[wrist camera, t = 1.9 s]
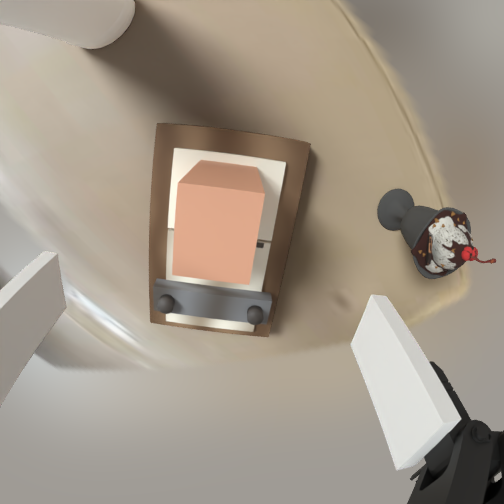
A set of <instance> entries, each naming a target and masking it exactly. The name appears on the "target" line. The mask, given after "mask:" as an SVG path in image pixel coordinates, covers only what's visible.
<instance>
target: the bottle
mask: <svg viewBox="0 0 504 504" xmlns="http://www.w3.org/2000/svg"><path fill="white" fill-rule="evenodd" d="M134 14H135V2H134V0H0V24H2V25H6V26H11V27H15V28H19V29H23V30H27V31H31V32H34V33H38V34H42V35H45V36H48V37H52V38H55V39H58V40H61V41H65V42H66V43H68V44H70V45H74V46H78V47H81V48H86V49H97V48H102V47H104V46H106V45H109V44H111V43H112V42H114V41H115V40H116V39H117V38H119V37H120V36H121V35H122V34H123V33H124V32H125V30H126V29H127V28H128V27H129V25H130V24H131V21H132V19H133V16H134Z"/></svg>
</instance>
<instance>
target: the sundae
mask: <svg viewBox="0 0 504 504" xmlns="http://www.w3.org/2000/svg"><path fill="white" fill-rule="evenodd" d="M378 219H379V221H380V223H381V225H382V226H383V227H385V228H386V229H388V230H399V229H401V233H402V235H403V237H404V239H405V241H406V242H407V244H408V245H409V247H410V248H411V249H412V250H411V253H412V254H413V259H414V262H415V265H416V267H417V269H418V271H419V272H420V273H421V274H422V275H423V276H424V277H426V278H429V279H436V278H440V277H443V276H446V275H448V274H450V273H452V272H454V271H455V270H457V269H458V268H459V267H461V266H462V265H463V264H464V263H465V262H466V261H468V260H470V261H473V260H476V261H478V262H481V263H488V262H490V263H495V262H496V259H492V260H488V261H480V260H479V259H478V258H477V255H478V251H477V249H476V248H475V247H473V243H472V241H473V239H472V237H471V235H470V234H471V227H470V222H469V220H468V218H467V216H466V214H465V213H462V212H461V211H459V210H457V209H454V208H448V207H446V208H442V209H440V210H439V211H438V210H435V209H432V208H429V207H425V206H414V202H413V199H412V197H411V195H410V194H409V193H408V192H407V191H405V190H402V189H394V190H391V191H389V192H388V193H386V194H385V195H384V196H383V198H382V199H381V200H380V203H379V206H378Z"/></svg>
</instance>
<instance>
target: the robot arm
mask: <svg viewBox="0 0 504 504" xmlns="http://www.w3.org/2000/svg"><path fill="white" fill-rule="evenodd" d="M66 308H67V306H66V301H65V296H64V291H63V285H62V280H61V273H60V267H59V260H58V253H53V252H47V251H44V252H42V253H41V254H40V255H39V256H38V257H37V258H35V259H34V260H33V261H32V262H31V263H30V264H28V265H27V266H26V267H25V268H24V269H23V270H22V271H20V272H19V273H18V274H17V275H16V276H15V277H14V278H13V279H12V280H11V281H10V282H8V283H7V284H6V285H5V286H4V287H3V288H2V289H1V290H0V406H1V405H2V403H3V401H4V400H5V398H6V396H7V394H8V393H9V391H10V389H11V388H12V386H13V385H14V383H15V381H16V380H17V378H18V377H19V375H20V373H21V372H22V370H23V369H24V367H25V366H26V364H27V362H28V361H29V360H30V358H31V357H32V355H33V354H34V352H35V351H36V349H37V348H38V346H39V345H40V343H41V342H42V340H43V339H44V338H45V336H46V335H47V333H48V332H49V331H50V329H51V328H52V326H53V325H54V324H55V322H56V321H57V320H58V318H59V317H60V316H61V314H62V313H63V312H64V310H65V309H66ZM350 345H351V348H352V350H353V353H354V355H355V358H356V360H357V363H358V365H359V368H360V370H361V373H362V375H363V378H364V381H365V383H366V386H367V389H368V391H369V394H370V396H371V399H372V402H373V405H374V407H375V410H376V413H377V415H378V418H379V421H380V424H381V427H382V429H383V432H384V435H385V438H386V441H387V444H388V447H389V449H390V453H391V456H392V459H393V462H394V465H395V468H396V470H400V469H404V468H408V467H412V466H415V465H416V464H417V463H418V462H419V461H420V460H421V459H423V458H425V461H426V464H425V465H424V466H423V467H422V468H421V469H419V470H418V471H417V472H416V473H415V474H413V475H412V477H411V478H410V480H413V479H414V478H416V477H417V476H418V475H419V474H420V475H419V477H418V480H417V481H416V485H415V487H414V489H413V492H412V494H411V496H410V499H409V501H408V503H407V504H504V431H503V432H498V431H491V430H490V428H489V427H488V426H487V425H486V424H485V423H483V422H482V421H478V420H471V419H470V417H469V416H468V413H467V412H466V410H465V408H464V406H463V405H462V403H461V401H460V399H459V398H458V396H457V394H456V392H455V391H453V387H452V386H451V384H450V383H448V379H447V377H446V376H445V374H444V372H443V371H442V370H441V369H440V368H439V367H438V366H437V365H436V364H435V363H434V362H429V361H428V359H427V358H426V356H425V355H424V353H423V351H422V350H421V348H420V346H419V345H418V343H417V342H416V340H415V339H414V337H413V335H412V334H411V332H410V331H409V329H408V328H407V326H406V325H405V323H404V322H403V320H402V319H401V317H400V316H399V314H398V313H397V311H396V310H395V308H394V307H393V305H392V304H391V302H390V301H389V299H388V298H387V296H381V295H371V296H370V299H369V301H368V304H367V306H366V309H365V311H364V314H363V316H362V319H361V321H360V324H359V326H358V328H357V331H356V333H355V335H354V338H353V340H352V342H351V344H350ZM499 472H501V473H502V478H501V479H500V480H498V481H497V482H495V481H494V476H496V475H497V474H498V473H499Z"/></svg>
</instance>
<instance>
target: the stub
mask: <svg viewBox="0 0 504 504" xmlns="http://www.w3.org/2000/svg"><path fill="white" fill-rule="evenodd" d="M285 166H286V162H282V161H276V160H270V159H264V158H258V157H251V156H244V155H236V154H229V153H221V152H213V151H204V150H194V149H184V148H174V154H173V164H172V175H171V186H170V199H169V214H168V228H174V242H173V264H172V275H175V276H182V277H190V278H197V279H205V280H213V281H221V282H229V283H237V284H246V285H249V283H250V278H251V272H252V266H253V261H254V255H255V249H256V243H257V239H260V240H267V241H272V236H273V230H274V225H275V220H276V215H277V209H278V204H279V199H280V194H281V188H282V183H283V177H284V172H285Z"/></svg>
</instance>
